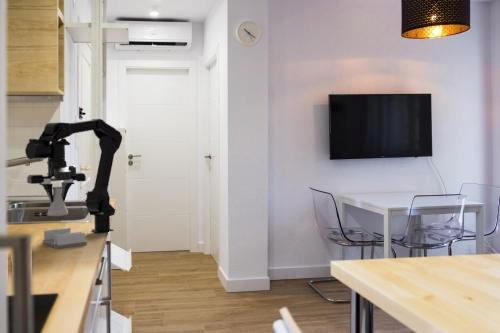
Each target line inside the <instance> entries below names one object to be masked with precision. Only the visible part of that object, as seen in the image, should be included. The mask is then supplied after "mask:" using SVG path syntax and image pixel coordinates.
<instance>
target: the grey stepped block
mask: <svg viewBox="0 0 500 333" xmlns="http://www.w3.org/2000/svg"><path fill="white" fill-rule="evenodd" d="M85 233H86V232H82V231H78V232H77V231H75V232H72V231H71V227H65V228H56V229H49V230H43V239H42V243H43V244H45V245H48V246H49V247H52V248H54V249H63V248H71V247H79V246H87V244H88V243H87V241H86V234H85Z"/></svg>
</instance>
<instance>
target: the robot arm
mask: <svg viewBox="0 0 500 333" xmlns="http://www.w3.org/2000/svg"><path fill="white" fill-rule="evenodd" d="M90 131H93V134H94V135H95V137H96V138H98V139H99V141H98V145H99V148H100V156H99V161H98V168H97V173H96V176H95V182H94V187H93V189H92V190H91V191H89V190H88V191H87V193H86V198H85V201H84V202H85V206H86V208H87V210H88V214H89V215H90V216H94V217H93V219H94V220H93V221H94V228H92V229H91V231H92V232H95V233H99V234H100V233H107V232H113V231H114V229H113V228H111V217H112V216H115V213H116V209H115V208H114V207H113V206H112V204H111V203H110V200H111V198H110V194H109V190H108V188H109V183H110V177H111V172H112V168H113V162H114V158H115V154H116V152H117V151H118V150H119V149H120V146H121V145H122V144H121V143H122V141H123V135H122V134H121V132H120V130H117V129H116V128H115V127H113V126H112V125H111V124H109V123H106V121H104V119H101V118H92V119H90V120H84V121H76V122H61V121H60V122H48V123H46V124H45V126H44V128H43V131H42V133H41V134H40V136H38V139H37V138H29V139H28V143H27V144H26V147H25V150H24V152H25V156H26V157H27V159H29V160H45V159H47V161H46V165H47V175H46V176H45V175H43V174H29V175H27V178H26V183H27V184H31V185H32V184H36V185H37V184H38V185H39V186H42V187H43V189H44V191H45V192H46V195H47V197H48V199H49V201H50V204H51V203H53V189H52V187H53V183H51V182H57V181H61V186H60V187H62V189H61V193H62V198H63V201H64V202H65V201H66V198H67V194H68V192H69V190H70V187H71V186H72V185H75V181H76V182H86V181H87V178H86V177H87V176H86V174H85V173H84V172H77V166H76V165H69V166H68V165H67V161H66V147H65V146H70V145H71V143H70V142H69V141H68V140H67V139H66V138H68V137H71V136H72V135H74V134H77V133H83V132H84V133H85V132H90Z"/></svg>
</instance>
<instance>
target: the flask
mask: <svg viewBox="0 0 500 333" xmlns="http://www.w3.org/2000/svg"><path fill="white" fill-rule="evenodd" d="M52 193H53V203H51V202H50V205H49V208H48V211H47V213H46V216H50V217H61V216H66V215H69V210H68V208H67V206H66V203H65V201H63V198H62V186H52Z"/></svg>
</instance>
